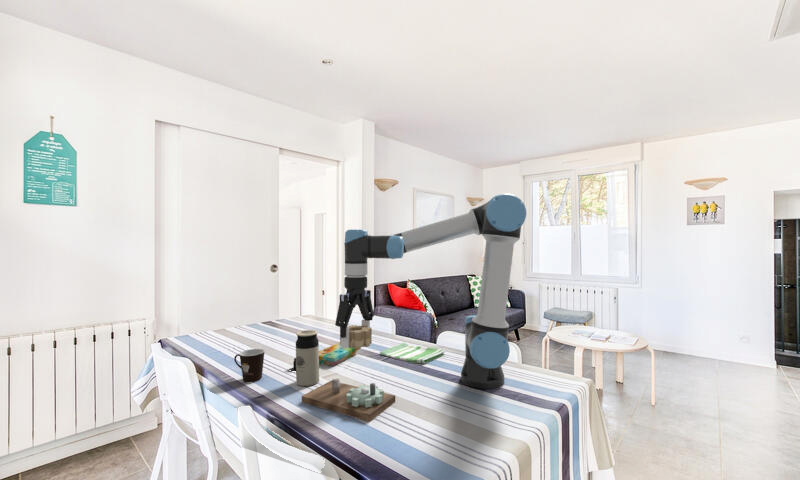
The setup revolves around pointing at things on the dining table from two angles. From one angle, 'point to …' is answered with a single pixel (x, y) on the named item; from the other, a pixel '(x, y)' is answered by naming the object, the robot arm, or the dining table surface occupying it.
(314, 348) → the travel mug
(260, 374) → the coffee mug
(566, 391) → the dining table surface
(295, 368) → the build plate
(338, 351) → the puzzle game
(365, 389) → the gear
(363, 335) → the beech gear
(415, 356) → the dish towel
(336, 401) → the gear board
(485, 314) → the robot arm
